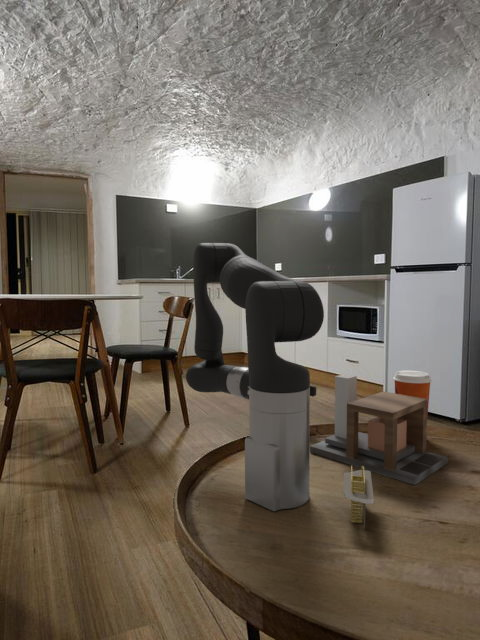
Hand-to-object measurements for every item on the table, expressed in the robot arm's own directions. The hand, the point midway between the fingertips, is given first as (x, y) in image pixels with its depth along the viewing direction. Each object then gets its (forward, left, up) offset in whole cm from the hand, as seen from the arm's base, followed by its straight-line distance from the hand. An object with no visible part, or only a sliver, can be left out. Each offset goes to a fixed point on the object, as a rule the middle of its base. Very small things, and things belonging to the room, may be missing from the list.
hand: (303, 394), depth 100 cm
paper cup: (+15, -17, -9) cm, 25 cm away
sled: (0, -16, -7) cm, 17 cm away
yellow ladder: (-22, -27, -10) cm, 36 cm away
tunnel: (0, -17, -9) cm, 20 cm away
